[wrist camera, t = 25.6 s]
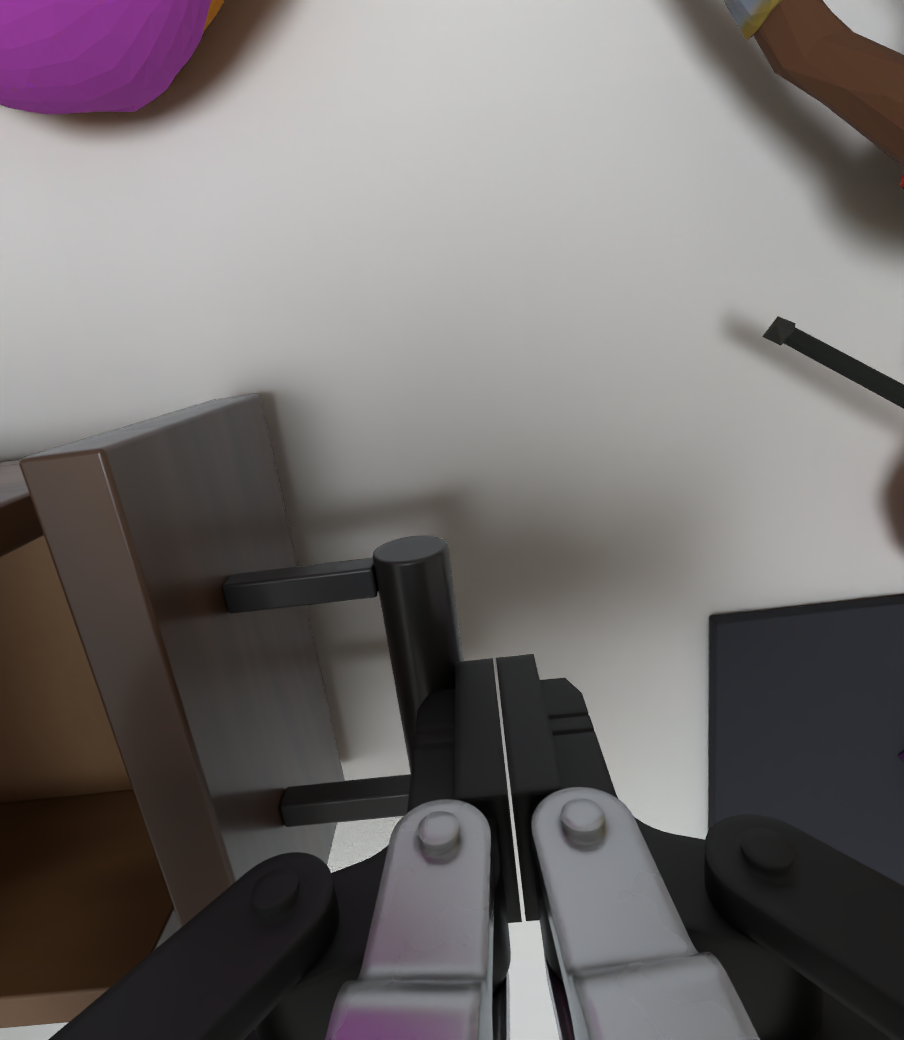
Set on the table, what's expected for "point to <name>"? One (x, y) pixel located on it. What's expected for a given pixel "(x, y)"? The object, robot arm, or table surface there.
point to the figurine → (847, 92)
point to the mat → (813, 723)
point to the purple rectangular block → (901, 756)
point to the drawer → (172, 691)
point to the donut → (95, 51)
